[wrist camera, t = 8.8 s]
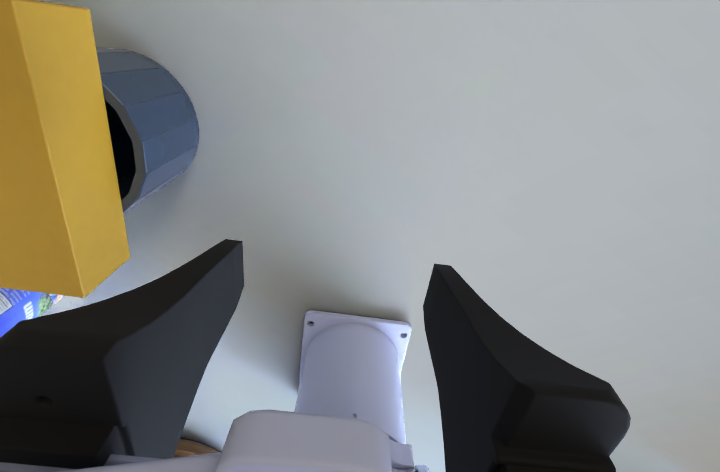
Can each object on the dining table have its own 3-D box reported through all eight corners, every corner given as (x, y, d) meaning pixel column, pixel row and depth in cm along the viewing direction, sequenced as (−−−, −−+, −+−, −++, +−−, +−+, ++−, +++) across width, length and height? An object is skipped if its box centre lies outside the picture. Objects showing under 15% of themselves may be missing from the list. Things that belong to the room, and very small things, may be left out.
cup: (202, 190, 24) (154, 232, 18) (80, 174, 23) (-5, 211, 18) (195, 60, 20) (133, 64, 15) (52, 38, 20) (-64, 35, 15)
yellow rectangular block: (131, 257, 19) (84, 298, 16) (30, 244, 19) (-37, 283, 16) (90, 9, 14) (11, -2, 11) (-47, -13, 14) (-166, -30, 11)
